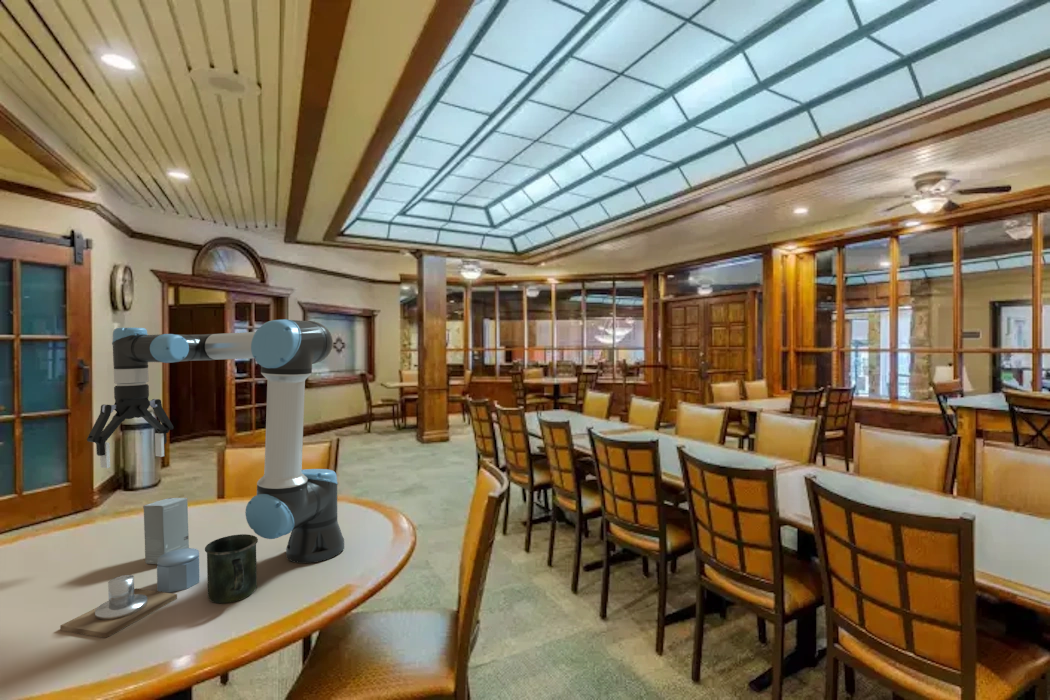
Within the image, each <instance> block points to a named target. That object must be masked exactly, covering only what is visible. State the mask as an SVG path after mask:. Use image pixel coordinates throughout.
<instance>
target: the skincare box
mask: <svg viewBox="0 0 1050 700" xmlns="http://www.w3.org/2000/svg"><path fill="white" fill-rule="evenodd" d="M142 507H143V529H144V556H145V558H144V559H145V560H144V561H145V564H150V565H157V564H158V562H157V559H158V558H159V557H160V556H161V555H163V554H165V553H168V552H171V551H174V550H179V549H186V548H190V544H189V543H190V542H189V540H190V538H189V512H188V511H189V510H188V509H189V508H188V507H189V506H188V498H187V497H168V498H164V499H161V500H156V501H154V502H151V503H148V504H145V505H143V506H142Z"/></svg>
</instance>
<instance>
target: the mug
mask: <svg viewBox="0 0 1050 700" xmlns="http://www.w3.org/2000/svg"><path fill="white" fill-rule="evenodd" d="M258 543H259V538H258V537H257V536H255V535H252V534H246V533H244V534H243V533H242V534H233V535H227V536H222V537H220V538H217V539H214V540H213V541H211V542H209V543H207V544H206V546H205V548H204V551H205V552H206V561H207V562H206V568H207V571H206V572H207V573H206V574H207V578H206V579H207V599H209V601H211V602H212V603H216V604H230V603H234V602H237V601H241V600H244V599H245V598H248V597H249V596H251V595H252V594H253V593H254V592H255V591H256V589H257V585H258V582H257V578H258V577H257V575H258V573H257V572H258V571H257V544H258Z"/></svg>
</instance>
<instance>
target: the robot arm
mask: <svg viewBox="0 0 1050 700" xmlns="http://www.w3.org/2000/svg"><path fill="white" fill-rule="evenodd" d="M333 342H334V340H333V336H332V333H331V332H330V331H329V329H328V328H327V327H326V325H323V324H322V323H319V322H316V321H313V320H295V319H287V318H285V319H273V320H269V321H266V322H265V323H263V324H262V325H261V326H260V327H258V328H257V329H256V331H250V332H249V331H247V332H226V333H206V334H205V333H204V334H174V333H163V334H148V330H147V329H146V328H145V327H116V328H115V329H114V330H113V332H112V342H111V345H112V357H113V358H112V362H113V363H112V364H113V384H116V385H114V387H113V394H114V397H113V398H114V404H101V406H100V411H99V414H98V416H97V419H95V423H94V424H93V426H92V428H91V429H90V433H89V434H88V435H87V439H86V441H87V442H88V443H89V442H90V443H95V444H96V449H95V450H96V455H97V456H98V457H100V468H102V469H109V468H111V456H110V455H111V454H110V452H111V448H110V446H111V445H110V442H107V441H108V440H109V438H110V437H111V436H113V434H114V432H115V431H116V430H117V429H118V427H119V426H120V425H121V424H122V422H124V421H125V420H131V419H135V418H136V419H138V418H139V419H140V418H142V419H144V420H145V421H146V422H147V423H148V425H150V426H151V427H152V428H153V429H154V430H156V431H157V432H155V433H154V449H155V451H154V452H155V453H154V454H155V455H154V456H155V457H160V458H162V457H165V444H166V445H167V439H168V438H167V434H168V433H169V432H170V430H174V425H173V423H172V422H171V420H170V417H168V415H167V413H166V411H165V410H164V408H163V405H162V400H161V399H160V398H158V399H157V398H153V399H151V400H149V396H150V387H149V386H150V385H149V384H148V382H149V381H150V380H149V363H164V364H170V363H179V362H189V361H190V362H191V361H196V362H197V361H215V360H218V361H219V360H240V359H241V360H243V359H244V360H246V359H249V360H250V359H255V362H256V363H257V364H258V365H260V375H262V376H263V377H264V378H265V379H266V380H267V381H266V382H267V383H266V384H267V386H266V413H265V414H266V417H265V420H266V421H265V442H264V443H265V445H264V448H265V449H264V471H263V472H264V473H263V476H261V477H260V478H259V479H258V480H257V482H256V495H254V496H253V497H252V498H251V499H250V500H249V501H248V503H247V504H246V506H245V511H244V512H245V519H246V523H247V524H248V527H249V528H250V529H251V530H253V532H254V533H255V534H256V535H257V536H259V537H261V538H263V539H267V540H273V539H278V538H281V537H284V536H286V535H288V534H290V535H289V539H288V542H287V544H286V548H285V551H286V552H285V557H286V559H287V560H288V561H290V562H292V563H299V564H311V563H310V562H312V563H318V562H317V561H319V562H322V560H323V561H327V560H329V558H330V559H332V558H331V557H333V556H335V555H337V554H338V555H340V554H341V553H342V552H343V551H344V550H345V539H344V537H343V534H342V531H341V527H340V525H339V522H338V521H339V520H338V483H339V482H338V476H337V473H336V472H335V471H334V470H333V469H328V468H308V469H307V468H306V469H303V466H302V465H303V447H304V445H303V443H304V419H305V418H304V416H305V415H304V414H305V394H306V393H305V388H306V386H305V385H306V380H307V379H308V378H309V377H310V376H312V373H313V372H312V371H313V365H315V364H318V363H320V362H322V361H324V360H325V359H326V358H327V357H329V355H330V354H331V351H332V349H333V345H334V343H333ZM150 407H151V408H152V410H153V412H154V413H155V415H156V416H157V418H156V417H154V415H153V414H152V413H151V411H149V410H148V409H149V408H150ZM114 411H115V412H116V413H115V414H114V415H113V416H112V418H111V420H110V421H109V418H110V416H111V414H112V413H113V412H114ZM108 421H109V422H108ZM343 549H344V550H343ZM342 550H343V551H342ZM341 551H342V552H341ZM340 552H341V553H340ZM339 553H340V554H339ZM338 555H337V556H338ZM335 557H336V556H335ZM333 558H334V557H333ZM326 559H327V560H326Z"/></svg>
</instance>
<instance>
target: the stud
mask: <svg viewBox="0 0 1050 700" xmlns="http://www.w3.org/2000/svg"><path fill="white" fill-rule="evenodd" d="M107 582H108V583H107V585H108V586H107V587H108V589H107V590H108V600H107V601H105V602H104V603H101V604H100V605H99V606H97V607H95V608H96V610H95V618H96V619H98V620H114V619H119V618H123V617H126V616H129V615H132V614H134V613H136V612H138V611H140V610H142V609H143V608H144V607H145V606H146V605H147V596H145V595H142V594H134V589H135V576H134V575H132V574H123V575H120V576H116V577H114V578H113V577H112V579H110V580H109V581H107Z"/></svg>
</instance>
